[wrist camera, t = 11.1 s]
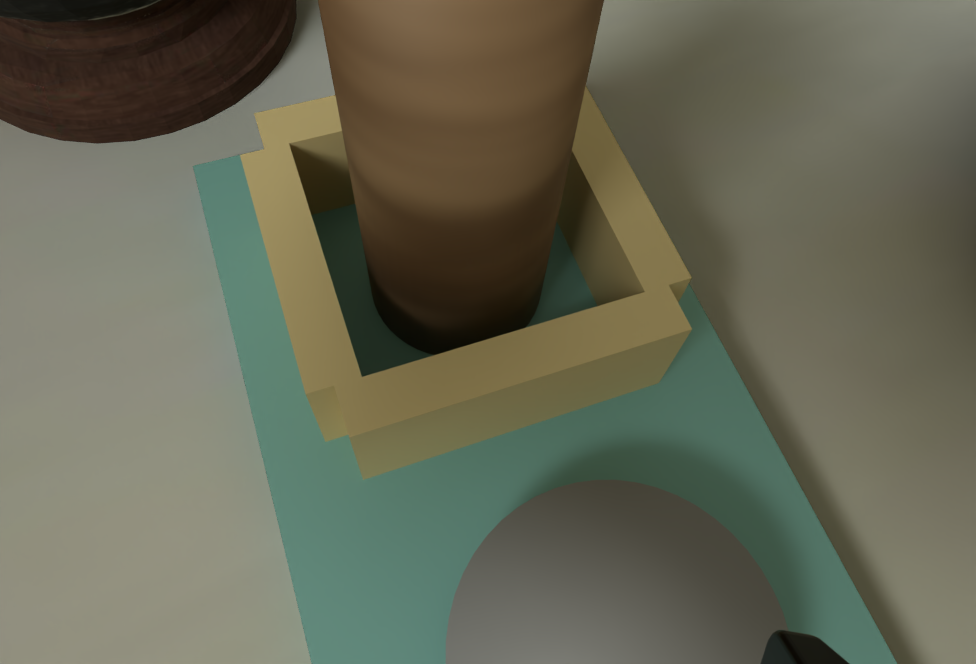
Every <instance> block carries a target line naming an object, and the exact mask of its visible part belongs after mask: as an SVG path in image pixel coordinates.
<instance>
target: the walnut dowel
mask: <svg viewBox="0 0 976 664" xmlns="http://www.w3.org/2000/svg"><path fill="white" fill-rule="evenodd" d="M603 2H604V0H318V3H319V8H320V14H321V19H322V25H323V30H324V36H325V41H326V47H327V52H328V57H329V63H330V68H331V74H332V79H333V85H334V90H335V96H336V101H337V106H338V112H339V117H340V123H341V128H342V134H343V139H344V145H345V150H346V156H347V161H348V166H349V172H350V177H351V183H352V188H353V194H354V199H355V205H356V210H357V215H358V221H359V226H360V232H361V237H362V243H363V248H364V254H365V259H366V265H367V270H368V275H369V281H370V286H371V292H372V296H373V301H374V304H375V307H376V309H377V311H378V314H379V315H380V317H381V319H382V320H383V322H384V323H385V324H386V326H387V327H388V328H389V329H390V331H392V332H393V333H394V334H395V335H396V336H397V337H398V338H399V339H401V340H402V341H404V342H405V343H406V344H408V345H410V346H412V347H414V348H416V349H418V350H420V351H423V352H425V353H428V354H432V355H437V354H440V353H444V352H447V351H450V350H453V349H457V348H460V347H463V346H467V345H470V344H473V343H477V342H480V341H483V340H487V339H490V338H493V337H497V336H500V335H503V334H507V333H510V332H513V331H517V330H520V329H523V328H526V326H527V325H528V324H529V323H530V321H531V319H532V318H533V316H534V314H535V312H536V309H537V307H538V304H539V301H540V297H541V292H542V287H543V283H544V278H545V273H546V269H547V264H548V259H549V255H550V250H551V245H552V241H553V236H554V231H555V227H556V222H557V217H558V213H559V208H560V203H561V198H562V194H563V189H564V184H565V180H566V175H567V170H568V166H569V161H570V156H571V152H572V147H573V142H574V138H575V133H576V128H577V124H578V119H579V114H580V110H581V105H582V100H583V96H584V91H585V86H586V82H587V77H588V72H589V67H590V63H591V58H592V53H593V49H594V44H595V39H596V35H597V30H598V25H599V21H600V16H601V11H602V7H603Z"/></svg>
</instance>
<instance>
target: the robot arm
mask: <svg viewBox="0 0 976 664" xmlns="http://www.w3.org/2000/svg"><path fill="white" fill-rule="evenodd" d="M760 664H849V663H848V662H847V661H846V660H845V659H843V658H842V657H841V656H840V655H839V654H838V653H836V652H835V651H834V650H833V649H832V648H830V647H829V646H828V645H827V644H826V643H825V642H823V641H822V640H821V639H820V638H818V637H816V636H813V635H809V634H803V633H798V632H792V631H786V630H777V631H775V632H773V633H772V635H771V636H770V638H769V639H768V642H767V644H766V647H765V651H764V654H763V657H762V660H761V663H760Z"/></svg>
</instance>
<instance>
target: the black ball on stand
mask: <svg viewBox="0 0 976 664" xmlns="http://www.w3.org/2000/svg"><path fill="white" fill-rule="evenodd" d="M295 21H296V0H0V119H1V120H3V121H5V122H7V123H10V124H12V125H14V126H16V127H18V128H21V129H23V130H25V131H27V132H30V133H34V134H38V135H42V136H46V137H50V138H54V139H58V140H63V141H75V142H87V143H109V142H124V141H136V140H141V139H145V138H150V137H155V136H159V135H164V134H169V133H172V132H175V131H178V130H181V129H183V128H186V127H189V126H191V125H194V124H197V123H200V122H202V121H205V120H207V119H209V118H210V117H212V116H214V115H216V114H218V113H219V112H221V111H223V110H225V109H227V108H229V107H230V106H232V105H234V104H236V103H237V102H238V101H239V100H241V99H242V98H243V97H244V96H246V95H247V94H248V93H250V92H251V91H252V90H253V89H255V88H256V87H257V86H258V85H260V84H261V82H262V81H263V80H264V79H265V78H266V77H267V76H268V74H269V73H270V72H271V71H272V70H273V69H274V67H275V66H276V65H277V64H278V63H279V61H280V59H281V57H282V55H283V54H284V52H285V50H286V48H287V46H288V44H289V43H290V41H291V37H292V33H293V29H294V25H295Z"/></svg>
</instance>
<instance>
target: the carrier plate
mask: <svg viewBox="0 0 976 664" xmlns="http://www.w3.org/2000/svg"><path fill="white" fill-rule="evenodd" d="M254 115H255V118H256V122H257V125H258V129H259V132H260V135H261V139H262V142H263V146H264V149H263V150H259V151H255V152H250V153H246V154H242V155H237V156H233V157H229V158H225V159H220V160H216V161H212V162H208V163H203V164H199V165H195V166H193V168H194V172H195V177H196V181H197V185H198V189H199V193H200V198H201V202H202V206H203V210H204V214H205V219H206V223H207V227H208V231H209V235H210V239H211V244H212V248H213V252H214V256H215V260H216V265H217V269H218V273H219V277H220V281H221V286H222V290H223V294H224V298H225V302H226V306H227V311H228V315H229V319H230V323H231V327H232V332H233V336H234V340H235V344H236V348H237V352H238V357H239V361H240V365H241V369H242V373H243V378H244V382H245V386H246V390H247V394H248V399H249V403H250V407H251V411H252V415H253V419H254V424H255V428H256V432H257V436H258V440H259V445H260V449H261V453H262V457H263V461H264V466H265V470H266V474H267V478H268V482H269V486H270V491H271V495H272V499H273V503H274V507H275V512H276V516H277V520H278V524H279V528H280V533H281V537H282V541H283V545H284V549H285V553H286V558H287V562H288V566H289V570H290V574H291V579H292V583H293V587H294V591H295V595H296V600H297V604H298V608H299V612H300V616H301V620H302V625H303V629H304V633H305V637H306V641H307V646H308V650H309V654H310V658H311V662H312V664H760V663H761V660H762V657H763V654H764V651H765V647H766V644H767V642H768V639H769V638H770V636H771V635H772V633H773V632H775V631H777V630H786V631H792V632H798V633H803V634H809V635H813V636H816V637H818V638H820V639H821V640H822V641H823V642H825V643H826V644H827V645H828V646H829V647H830V648H832V649H833V650H834V651H835V652H836V653H838V654H839V655H840V656H841V657H842V658H843V659H845V660H846V661H847V662H848V663H849V664H897V662H896V660H895V658H894V657H893V655H892V653H891V651H890V649H889V648H888V646H887V644H886V642H885V640H884V638H883V637H882V635H881V633H880V631H879V629H878V627H877V626H876V624H875V622H874V620H873V618H872V616H871V615H870V613H869V611H868V609H867V607H866V606H865V604H864V602H863V600H862V598H861V596H860V595H859V593H858V591H857V589H856V587H855V585H854V584H853V582H852V580H851V578H850V576H849V574H848V573H847V571H846V569H845V567H844V565H843V564H842V562H841V560H840V558H839V556H838V554H837V553H836V551H835V549H834V547H833V545H832V543H831V542H830V540H829V538H828V536H827V534H826V532H825V531H824V529H823V527H822V525H821V523H820V522H819V520H818V518H817V516H816V514H815V512H814V511H813V509H812V507H811V505H810V503H809V501H808V500H807V498H806V496H805V494H804V492H803V490H802V489H801V487H800V485H799V483H798V481H797V480H796V478H795V476H794V474H793V472H792V470H791V469H790V467H789V465H788V463H787V461H786V459H785V458H784V456H783V454H782V452H781V450H780V448H779V447H778V445H777V443H776V441H775V439H774V438H773V436H772V434H771V432H770V430H769V428H768V427H767V425H766V423H765V421H764V419H763V417H762V416H761V414H760V412H759V410H758V408H757V406H756V405H755V403H754V401H753V399H752V397H751V395H750V394H749V392H748V390H747V388H746V386H745V385H744V383H743V381H742V379H741V377H740V375H739V374H738V372H737V370H736V368H735V366H734V364H733V363H732V361H731V359H730V357H729V355H728V353H727V352H726V350H725V348H724V346H723V344H722V343H721V341H720V339H719V337H718V335H717V333H716V332H715V330H714V328H713V326H712V324H711V322H710V321H709V319H708V317H707V315H706V313H705V311H704V310H703V308H702V306H701V304H700V302H699V301H698V299H697V297H696V295H695V293H694V291H693V290H692V288H691V286H690V284H689V282H690V280H691V279H692V277H691V275H690V273H689V272H688V270H687V268H686V266H685V264H684V263H683V261H682V259H681V257H680V255H679V253H678V252H677V250H676V248H675V246H674V244H673V243H672V241H671V239H670V237H669V235H668V234H667V232H666V230H665V228H664V226H663V224H662V223H661V221H660V219H659V217H658V215H657V214H656V212H655V210H654V208H653V206H652V205H651V203H650V201H649V199H648V197H647V195H646V194H645V192H644V190H643V188H642V186H641V185H640V183H639V181H638V179H637V177H636V175H635V174H634V172H633V170H632V168H631V166H630V165H629V163H628V161H627V159H626V157H625V156H624V154H623V152H622V150H621V148H620V146H619V145H618V143H617V141H616V139H615V137H614V136H613V134H612V132H611V130H610V128H609V127H608V125H607V123H606V121H605V119H604V117H603V116H602V114H601V112H600V110H599V108H598V107H597V105H596V103H595V101H594V99H593V98H592V96H591V94H590V92H589V90H588V88H587V87H586V86H585V91H584V96H583V100H582V105H581V110H580V114H579V119H578V124H577V128H576V133H575V138H574V142H573V147H572V152H571V156H570V161H569V166H568V170H567V175H566V180H565V184H564V189H563V194H562V198H561V203H560V208H559V213H558V217H557V222H556V227H555V231H554V236H553V241H552V245H551V250H550V255H549V259H548V264H547V269H546V273H545V278H544V283H543V287H542V292H541V297H540V301H539V304H538V307H537V309H536V312H535V314H534V316H533V318H532V319H531V321H530V323H529V324H528V325H527V326H526V328H523V329H520V330H517V331H513V332H510V333H507V334H503V335H500V336H497V337H493V338H490V339H487V340H483V341H480V342H477V343H473V344H470V345H467V346H463V347H460V348H457V349H453V350H450V351H447V352H444V353H440V354H437V355H432V354H428V353H425V352H423V351H420V350H418V349H416V348H414V347H412V346H410V345H408V344H406V343H405V342H404V341H402V340H401V339H399V338H398V337H397V336H396V335H395V334H394V333H393V332H392V331H390V329H389V328H388V327H387V326H386V324H385V323H384V322H383V320H382V319H381V317H380V315H379V314H378V311H377V309H376V307H375V304H374V301H373V296H372V292H371V286H370V281H369V275H368V270H367V265H366V259H365V254H364V248H363V243H362V237H361V232H360V226H359V221H358V215H357V210H356V205H355V199H354V194H353V188H352V183H351V177H350V172H349V166H348V161H347V156H346V150H345V145H344V139H343V134H342V128H341V123H340V117H339V112H338V106H337V101H336V96H335V95H334V96H329V97H325V98H320V99H316V100H312V101H307V102H303V103H298V104H294V105H289V106H285V107H280V108H276V109H272V110H267V111H263V112H258V113H254Z"/></svg>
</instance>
